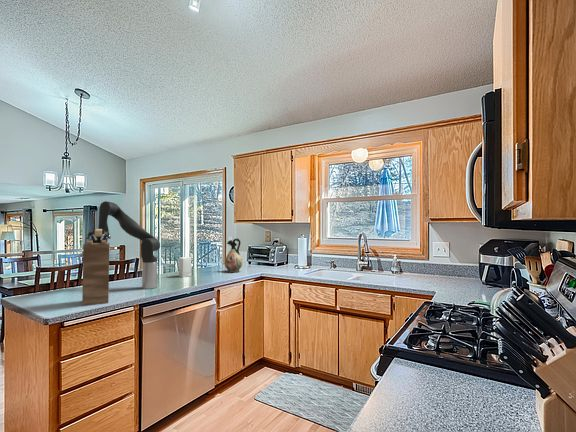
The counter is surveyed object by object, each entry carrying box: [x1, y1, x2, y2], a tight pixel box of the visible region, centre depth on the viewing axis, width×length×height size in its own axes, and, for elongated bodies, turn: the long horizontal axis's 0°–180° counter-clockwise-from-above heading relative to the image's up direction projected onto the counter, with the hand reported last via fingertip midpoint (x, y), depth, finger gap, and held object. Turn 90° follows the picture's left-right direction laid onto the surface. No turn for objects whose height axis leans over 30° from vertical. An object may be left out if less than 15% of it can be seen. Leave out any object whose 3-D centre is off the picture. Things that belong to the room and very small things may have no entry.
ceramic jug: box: [224, 238, 243, 273], centre depth 289 cm, size 17×15×30 cm
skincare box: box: [178, 256, 192, 278], centre depth 263 cm, size 8×7×16 cm
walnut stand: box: [81, 239, 110, 306], centre depth 179 cm, size 12×12×34 cm
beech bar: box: [94, 228, 102, 237], centre depth 194 cm, size 26×4×4 cm, turn 30°
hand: (98, 229), depth 199 cm, fingers closed on beech bar, 3 cm apart
